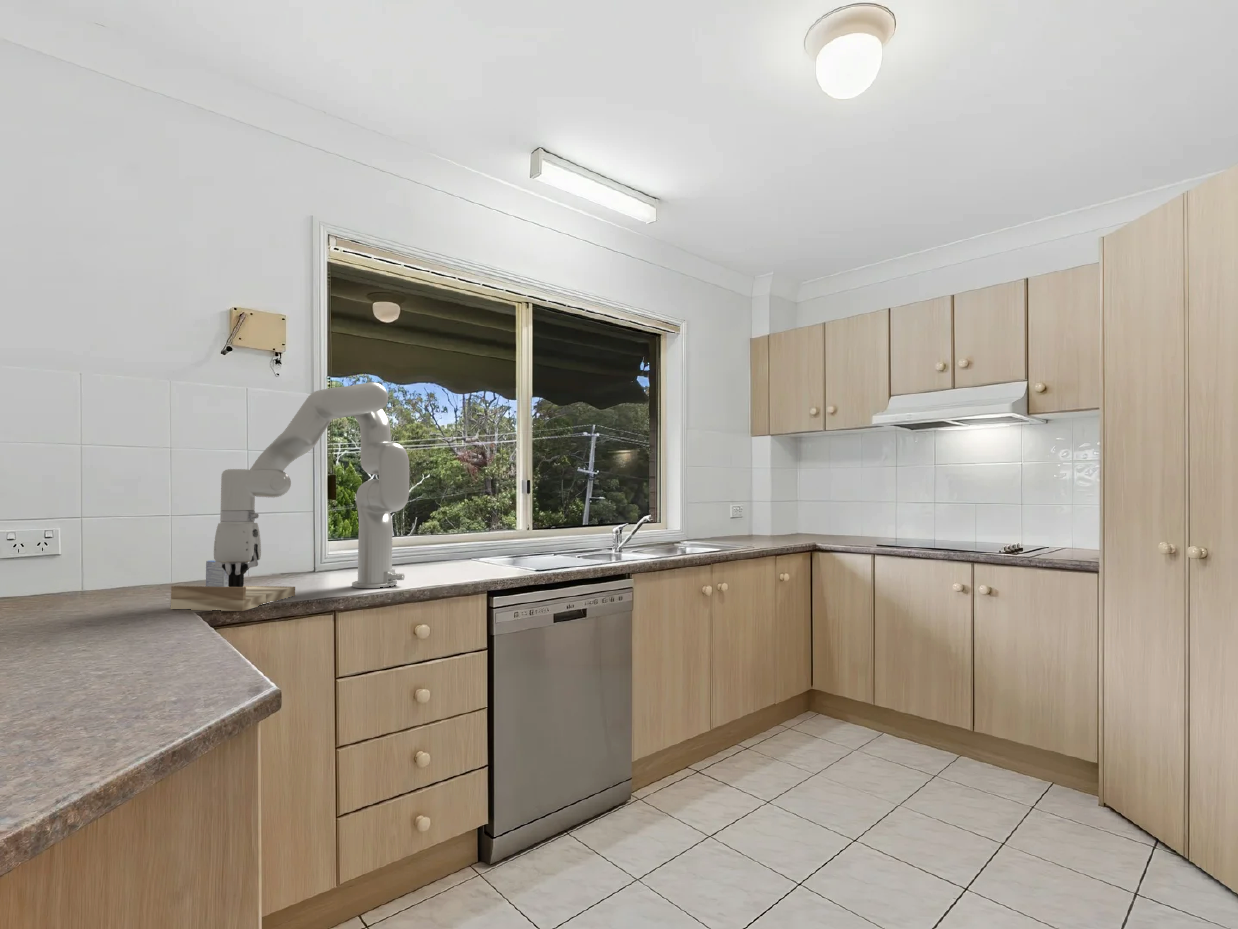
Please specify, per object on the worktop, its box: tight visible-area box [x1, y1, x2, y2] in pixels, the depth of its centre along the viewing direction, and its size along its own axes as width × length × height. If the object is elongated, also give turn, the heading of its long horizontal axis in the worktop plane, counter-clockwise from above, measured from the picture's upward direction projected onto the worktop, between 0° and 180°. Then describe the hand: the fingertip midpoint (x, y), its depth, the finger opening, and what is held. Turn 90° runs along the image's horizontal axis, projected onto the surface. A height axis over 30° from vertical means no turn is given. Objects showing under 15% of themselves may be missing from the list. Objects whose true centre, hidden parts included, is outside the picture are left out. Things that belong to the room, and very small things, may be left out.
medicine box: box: [205, 559, 229, 587], centre depth 187 cm, size 8×4×9 cm, turn 65°
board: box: [170, 585, 296, 612], centre depth 169 cm, size 22×18×6 cm
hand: (235, 590), depth 168 cm, fingers closed
